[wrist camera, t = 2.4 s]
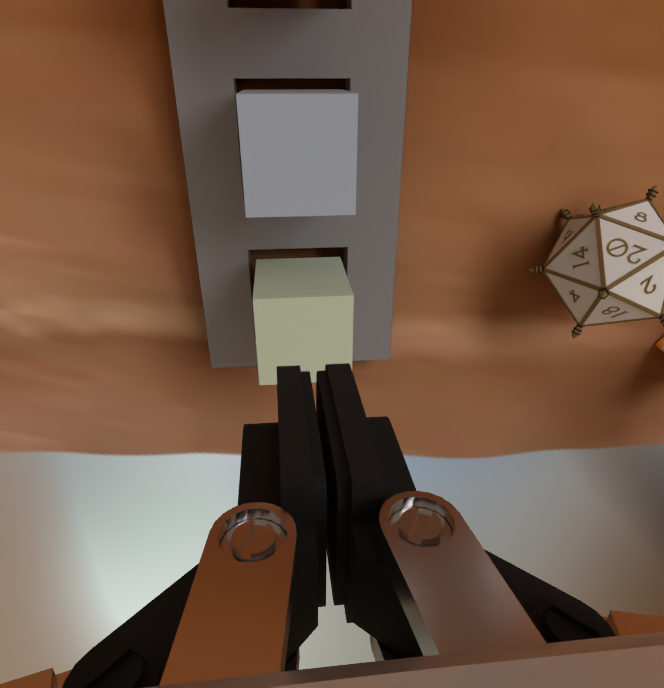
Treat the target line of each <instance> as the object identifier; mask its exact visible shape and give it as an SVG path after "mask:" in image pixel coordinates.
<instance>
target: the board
mask: <svg viewBox="0 0 664 688" xmlns="http://www.w3.org/2000/svg"><path fill="white" fill-rule="evenodd" d="M163 6H164V14H165V21H166V29H167V36H168V44H169V51H170V59H171V66H172V74H173V82H174V89H175V97H176V104H177V112H178V119H179V127H180V134H181V142H182V150H183V157H184V165H185V172H186V180H187V187H188V195H189V202H190V210H191V218H192V225H193V233H194V240H195V248H196V255H197V263H198V270H199V278H200V286H201V293H202V301H203V308H204V316H205V323H206V331H207V338H208V346H209V354H210V361H211V368H224V367H244V366H258V361H257V348H256V336H255V323H254V311H253V284H252V271H251V259H250V250H262V249H295V248H328V247H344V269H345V272H346V275H347V277H348V280H349V283H350V286H351V289H352V292H353V294H354V311H353V355H352V361H363V360H382V359H390V344H391V329H392V313H393V297H394V281H395V265H396V249H397V234H398V218H399V202H400V186H401V170H402V154H403V138H404V123H405V107H406V91H407V75H408V59H409V43H410V28H411V12H412V0H347V9H293V8H230V0H163ZM236 78H346V91H350V92H354V93H358V134H357V178H356V215H331V216H291V217H251V218H246V212H245V200H244V188H243V175H242V163H241V151H240V138H239V126H238V113H237V101H236V94H237V83H236Z"/></svg>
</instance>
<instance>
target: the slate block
mask: <svg viewBox="0 0 664 688" xmlns="http://www.w3.org/2000/svg"><path fill="white" fill-rule="evenodd" d="M236 101H237V113H238V126H239V138H240V151H241V163H242V175H243V188H244V200H245V212H246V218H251V217H291V216H331V215H356V178H357V134H358V93H354V92H350V91H346V90H342V89H274V90H242V91H240V92H239V93H237V94H236Z"/></svg>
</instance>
